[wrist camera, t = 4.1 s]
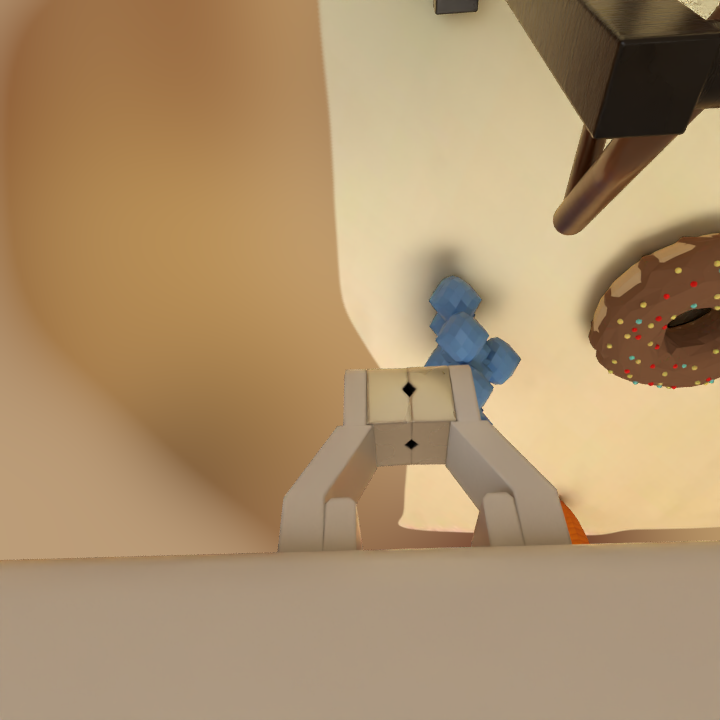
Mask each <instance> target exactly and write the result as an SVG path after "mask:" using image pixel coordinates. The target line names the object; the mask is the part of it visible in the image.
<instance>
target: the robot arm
mask: <svg viewBox="0 0 720 720" xmlns="http://www.w3.org/2000/svg"><path fill="white" fill-rule="evenodd" d="M344 381H345V383H344V385H345V386H344V422H343V423H344V424H343V426H338V427H337V428H336V429H335V430H334V431H333V433H332V434H331V435H330V437H329V438H328V439H327V441H326V442H325V444H324V445H323V446H322V447H321V449H320V450H319V451H318V453H317V454H316V455H315V457H314V458H313V459H312V461H311V462H310V463H309V465H308V466H307V467H306V469H305V470H304V471H303V473H302V474H301V475H300V477H299V478H298V479H297V481H296V482H295V483H294V485H293V486H292V487H291V488H290V490H289V491H288V493H287V494H286V495H285V496H284V500H283V508H282V517H281V527H280V536H279V544H278V552H276V553H241V554H240V553H239V554H207V555H206V554H203V555H167V556H134V557H133V556H132V557H95V558H61V559H60V558H58V559H23V560H22V559H21V560H0V720H720V540H717V541H683V542H682V541H681V542H645V543H611V544H610V543H609V544H572V542H571V538H570V535H569V531H568V528H567V524H566V521H565V517H564V514H563V510H562V506H561V503H560V499H559V496H558V492H557V489H556V488H555V487H554V486H553V485H552V484H551V483H550V482H549V481H548V480H547V479H546V478H545V477H544V476H543V475H542V474H541V473H540V472H539V471H538V470H537V469H536V468H535V467H534V466H533V465H532V464H531V463H530V462H529V461H528V460H527V459H526V458H525V457H524V456H523V455H522V454H521V453H520V452H519V451H518V450H517V449H516V448H515V447H514V446H513V445H512V444H511V443H510V442H509V441H508V440H507V439H506V438H505V437H504V436H503V435H502V434H501V433H500V432H499V431H498V430H497V429H496V428H495V427H494V426H493V425H492V424H491V423H490V422H489V421H488V420H481V417H480V412H479V407H478V402H477V397H476V392H475V386H474V381H473V376H472V371H471V368H470V366H469V365H453V366H448V367H447V365H445V366H427V367H410V368H399V369H367V370H366V369H358V370H346V372H345V380H344ZM411 464H446V465H445V466H446V467H447V469H448V470H449V471H450V472H451V474H452V475H453V476H454V478H455V479H456V480H457V482H458V483H459V484H460V486H461V487H462V488H463V490H464V491H465V492H466V494H467V495H468V496H469V498H470V499H471V500H472V502H473V503H474V504H475V506H476V507H477V508H478V510H479V515H478V519H477V523H476V527H475V531H474V535H473V539H472V543H471V544H472V547H463V548H461V547H459V548H425V549H423V548H422V549H387V550H363V546H362V540H361V533H360V526H359V519H358V512H357V506H356V504H357V503H358V501H359V499H360V497H361V495H362V494H363V492H364V490H365V489H366V487H367V485H368V483H369V482H370V480H371V478H372V476H373V475H374V473H375V471H376V470H377V467H378V466H393V465H411Z"/></svg>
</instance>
